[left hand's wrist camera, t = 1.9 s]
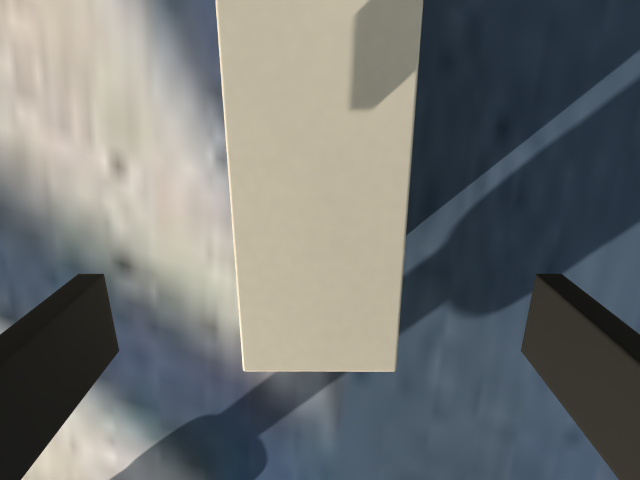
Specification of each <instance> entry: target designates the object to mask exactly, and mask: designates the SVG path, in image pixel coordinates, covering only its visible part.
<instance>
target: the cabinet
mask: <svg viewBox="0 0 640 480" xmlns="http://www.w3.org/2000/svg"><path fill="white" fill-rule="evenodd" d="M422 10H423V0H216V13H217V26H218V40H219V53H220V67H221V80H222V93H223V107H224V120H225V134H226V147H227V161H228V174H229V187H230V201H231V214H232V228H233V241H234V254H235V268H236V281H237V295H238V308H239V321H240V335H241V348H242V362H243V370H244V371H395V370H396V363H397V349H398V336H399V322H400V309H401V295H402V281H403V268H404V254H405V241H406V227H407V214H408V200H409V187H410V173H411V159H412V146H413V132H414V119H415V105H416V92H417V78H418V64H419V51H420V37H421V24H422Z"/></svg>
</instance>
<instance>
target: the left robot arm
mask: <svg viewBox="0 0 640 480" xmlns="http://www.w3.org/2000/svg"><path fill="white" fill-rule="evenodd" d="M118 352H119V348H118V343H117V338H116V333H115V328H114V323H113V318H112V313H111V308H110V303H109V298H108V293H107V288H106V283H105V277H104V274H78V275H77V276H75V277H74V278H73V279H71V280H70V281H69V282H68V283H66V284H65V285H64V286H62V287H61V288H60V289H59V290H57V291H56V292H55V293H53V294H52V295H51V296H50V297H48V298H47V299H46V300H44V301H43V302H42V303H41V304H39V305H38V306H37V307H35V308H34V309H33V310H31V311H30V312H29V313H28V314H26V315H25V316H24V317H22V318H21V319H20V320H19V321H17V322H16V323H15V324H13V325H12V326H11V327H10V328H8V329H7V330H6V331H4V332H3V333H2V334H1V335H0V480H21V479H22V478H23V476H24V475H25V474H26V472H27V471H28V470H29V468H30V467H31V466H32V464H33V463H34V462H35V461H36V459H37V458H38V457H39V455H40V454H41V453H42V451H43V450H44V449H45V447H46V446H47V445H48V443H49V442H50V441H51V440H52V438H53V437H54V436H55V434H56V433H57V432H58V430H59V429H60V428H61V426H62V425H63V424H64V422H65V421H66V420H67V419H68V417H69V416H70V415H71V413H72V412H73V411H74V409H75V408H76V407H77V405H78V404H79V403H80V401H81V400H82V399H83V397H84V396H85V395H86V394H87V392H88V391H89V390H90V388H91V387H92V386H93V384H94V383H95V382H96V380H97V379H98V378H99V376H100V375H101V374H102V373H103V371H104V370H105V369H106V367H107V366H108V365H109V363H110V362H111V361H112V359H113V358H114V357H115V355H116V354H117V353H118ZM521 352H522V353H523V354H524V355H525V357H526V358H527V359H528V361H529V362H530V363H531V365H532V366H533V367H534V369H535V370H536V371H537V373H538V374H539V375H540V376H541V378H542V379H543V380H544V382H545V383H546V384H547V386H548V387H549V388H550V390H551V391H552V392H553V394H554V395H555V396H556V397H557V399H558V400H559V401H560V403H561V404H562V405H563V407H564V408H565V409H566V411H567V412H568V413H569V415H570V416H571V417H572V419H573V420H574V421H575V422H576V424H577V425H578V426H579V428H580V429H581V430H582V432H583V433H584V434H585V436H586V437H587V438H588V440H589V441H590V442H591V443H592V445H593V446H594V447H595V449H596V450H597V451H598V453H599V454H600V455H601V457H602V458H603V459H604V461H605V462H606V463H607V464H608V466H609V467H610V468H611V470H612V471H613V472H614V474H615V475H616V476H617V478H618V479H619V480H640V335H639V334H638V333H637V332H636V331H634V330H633V329H632V328H630V327H629V326H628V325H627V324H625V323H624V322H623V321H621V320H620V319H619V318H618V317H616V316H615V315H614V314H612V313H611V312H610V311H609V310H607V309H606V308H605V307H603V306H602V305H601V304H599V303H598V302H597V301H596V300H594V299H593V298H592V297H590V296H589V295H588V294H587V293H585V292H584V291H583V290H581V289H580V288H579V287H578V286H576V285H575V284H574V283H572V282H571V281H570V280H569V279H567V278H566V277H565V276H563V275H562V274H536V277H535V282H534V288H533V293H532V298H531V303H530V308H529V313H528V318H527V323H526V328H525V333H524V338H523V343H522V348H521Z"/></svg>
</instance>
